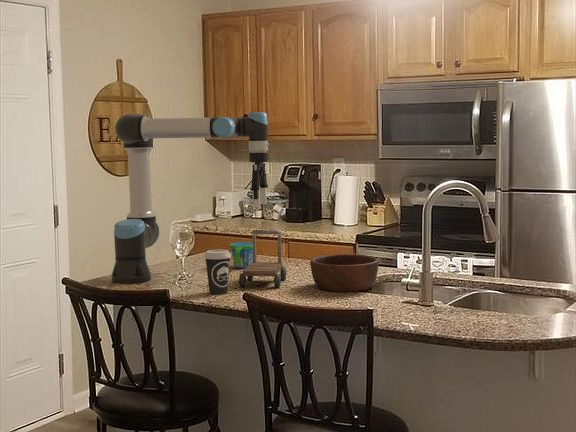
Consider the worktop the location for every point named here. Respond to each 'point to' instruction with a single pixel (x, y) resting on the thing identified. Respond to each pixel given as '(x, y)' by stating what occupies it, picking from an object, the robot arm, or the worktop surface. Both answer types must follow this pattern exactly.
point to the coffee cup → (218, 271)
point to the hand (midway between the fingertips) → (259, 205)
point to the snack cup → (242, 254)
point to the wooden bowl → (344, 272)
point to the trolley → (264, 263)
